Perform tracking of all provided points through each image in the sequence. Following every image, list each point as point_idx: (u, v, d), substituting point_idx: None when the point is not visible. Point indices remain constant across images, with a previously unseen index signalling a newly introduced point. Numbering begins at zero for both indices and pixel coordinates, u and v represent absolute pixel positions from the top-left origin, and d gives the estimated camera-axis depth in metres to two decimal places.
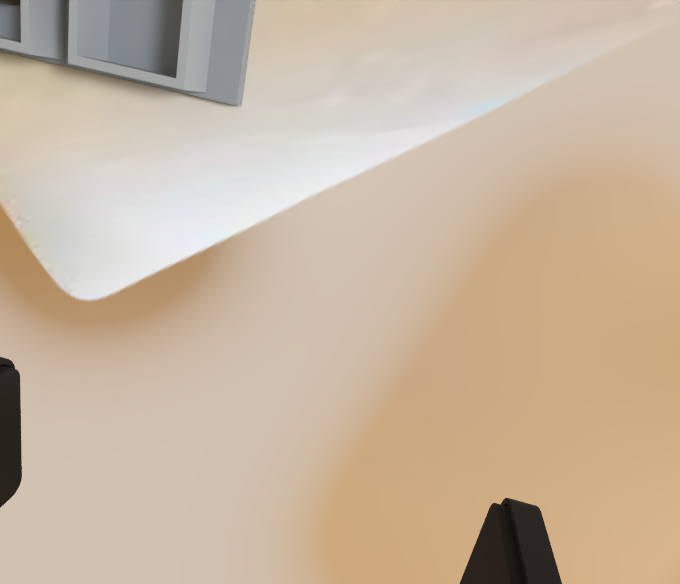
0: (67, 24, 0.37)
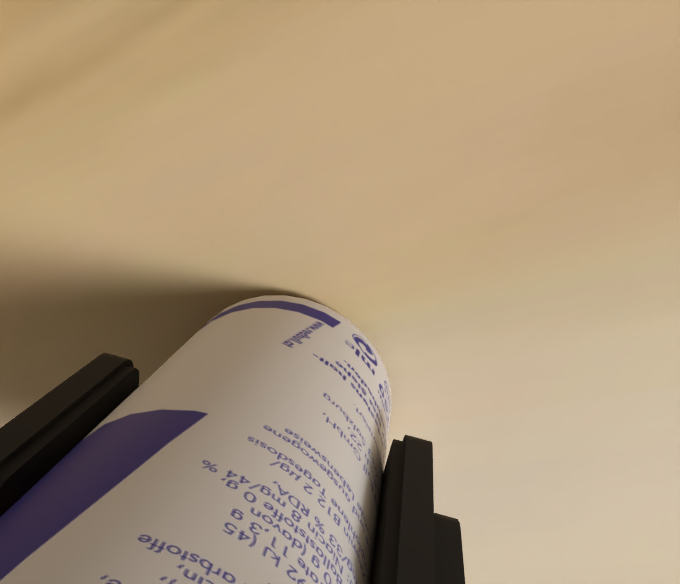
0: None
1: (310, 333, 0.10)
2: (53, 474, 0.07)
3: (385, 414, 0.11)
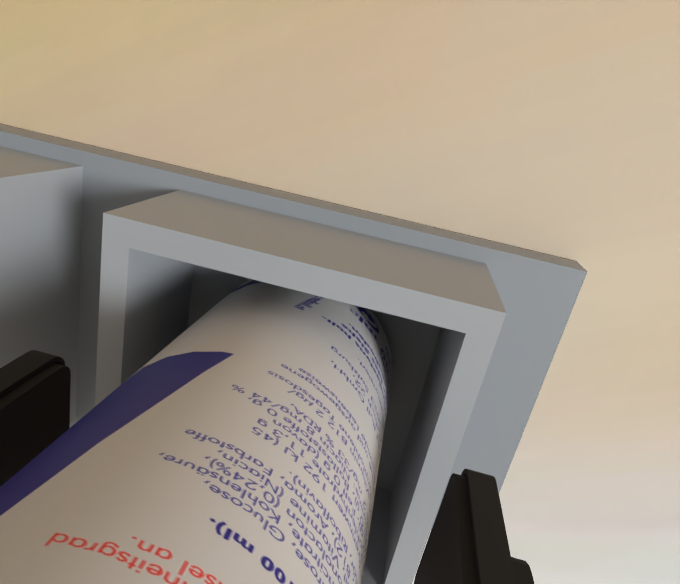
0: (84, 355, 0.16)
1: (318, 300, 0.12)
2: (106, 399, 0.08)
3: (386, 374, 0.12)
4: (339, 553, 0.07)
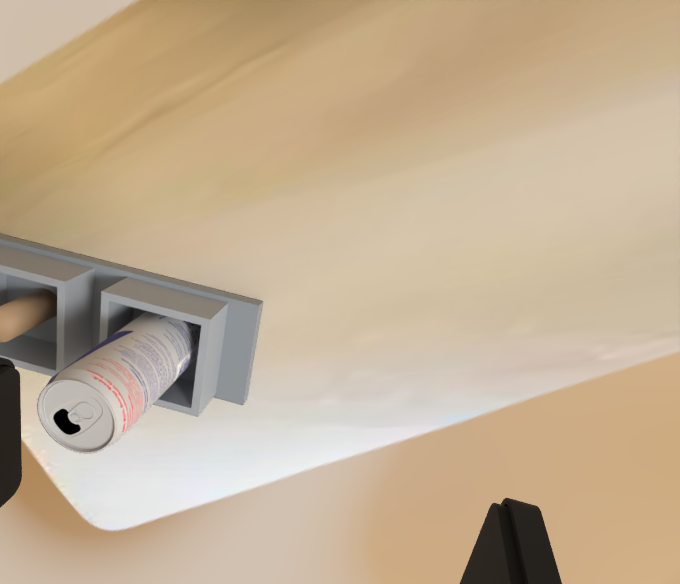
0: (94, 334, 0.42)
1: None
2: None
3: (192, 339, 0.39)
4: (150, 370, 0.33)
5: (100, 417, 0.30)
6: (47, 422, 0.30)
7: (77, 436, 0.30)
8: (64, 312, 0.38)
